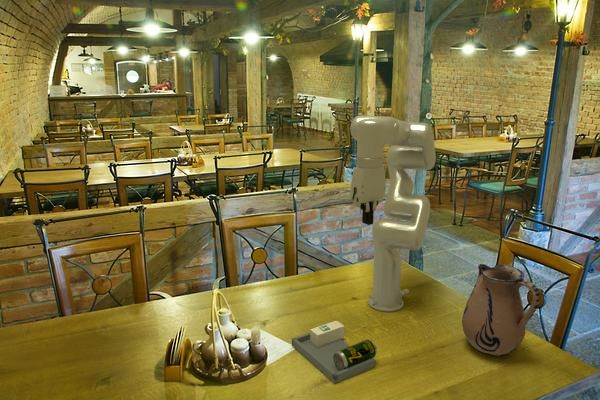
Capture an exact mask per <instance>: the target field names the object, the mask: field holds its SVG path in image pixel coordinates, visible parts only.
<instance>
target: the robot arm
mask: <svg viewBox="0 0 600 400" xmlns="http://www.w3.org/2000/svg"><path fill="white" fill-rule="evenodd" d="M350 135H351V137H352V138H353V139H354V140H355V141H356V167H354V168H353V171H352V174H351V180H350V181H351V182H350V190H349V191H350V195H349V198H350V200H352V206H354V207H355V208H359V209H360V210H361V213H362V214H361V216H362V219H361V222H362V223H363V224H365V225H368V226H371V225H372V229H371V236H372V243H373V273H372V276H373V277H372V294H371V295H370V296H369V297H368V298H367V305H368V306H370V307H371V308H372V309H375V310H377V311H380V312H397V311H399V310H401V309H402V308H403V307H404V305H405V304H404V299H402V298H403V296H406V295H409V294H410V291H409V289H408V288H405V289H403V290H402V289H401V276H402V275H401V271H402V257H401V253H400V252H399V250H398V249H402V250H408V251H418V250H420V249H421V248H422V247H423V243H424V241H425V235H426V232H427V227H428V223H429V219H430V213H431V203H430V202H431V201H430V199H429V198H428V197H427V196H425V195H422V194H413V191H414V187H415V184H414V181H413V179H412V177H411V176H410V175H409V173H408V171H406V169H407V170H416V171H430V170H433V168H434V166H435V164H436V160H437V155H436V148H435V147H436V146H435V140H434V134H433V129H432V127H431V125H430V124H429V123H426V122H416V121H404V120H401V119H397V118H395V117H392V116H382V115H380V116H379V115H356V116H355V117H354V118H353V119H352V120H351V123H350ZM384 145H387V146H388V145H389V146H391V147H388V150H387V152H386V158H385V157H384ZM385 161H387V169H388V170H387V171H388V175H389V186H388V189H387V193H386V187H387V186H386V183H387V182H386V171H385V167H384V162H385ZM385 196H386V197H385ZM384 199H385V201H384ZM383 202H384V204H383V213H384V215H385V218H379V219H377V220H376V221H375V222H374V215H375V211H376V209H377V207H378V205H380V204H381V203H383ZM386 217H387V218H386Z"/></svg>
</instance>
